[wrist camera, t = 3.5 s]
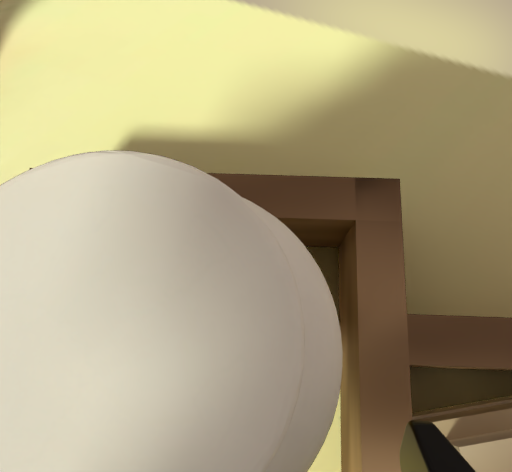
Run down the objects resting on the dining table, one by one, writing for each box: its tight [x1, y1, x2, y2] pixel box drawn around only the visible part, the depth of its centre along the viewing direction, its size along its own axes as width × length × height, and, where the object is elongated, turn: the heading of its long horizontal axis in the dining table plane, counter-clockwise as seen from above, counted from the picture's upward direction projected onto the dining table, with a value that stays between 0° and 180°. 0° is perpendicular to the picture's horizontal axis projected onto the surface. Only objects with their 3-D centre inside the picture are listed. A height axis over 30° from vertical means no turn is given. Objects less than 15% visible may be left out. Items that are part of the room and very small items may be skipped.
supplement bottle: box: [0, 151, 343, 472], centre depth 11 cm, size 7×7×13 cm
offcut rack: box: [30, 168, 512, 472], centre depth 15 cm, size 14×24×4 cm, turn 88°
